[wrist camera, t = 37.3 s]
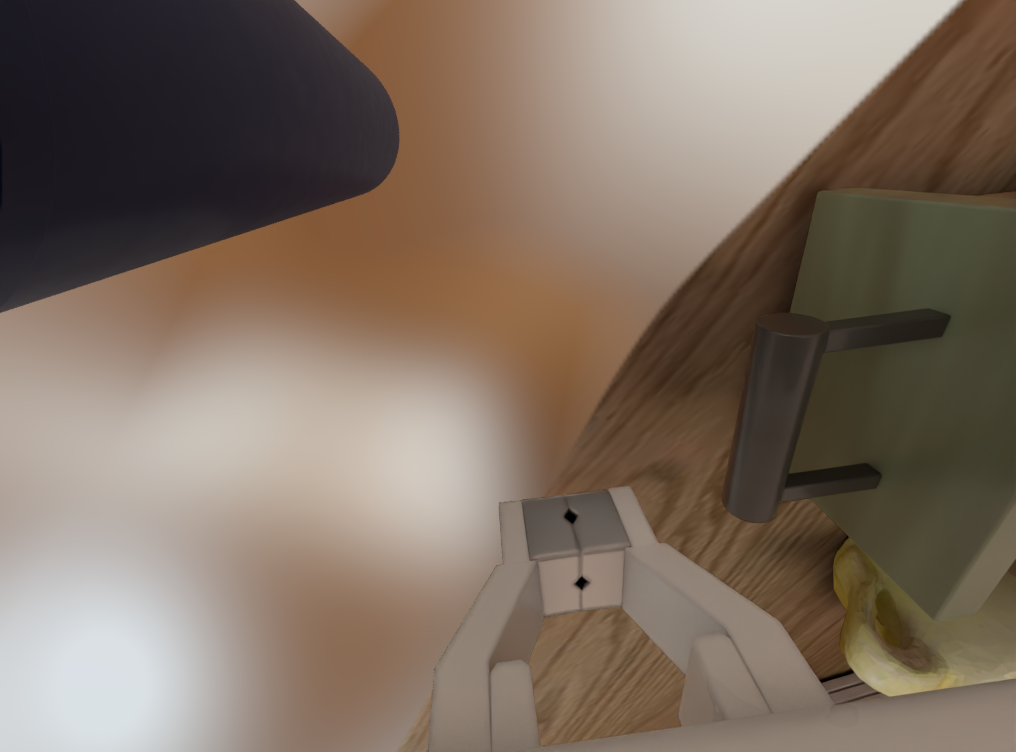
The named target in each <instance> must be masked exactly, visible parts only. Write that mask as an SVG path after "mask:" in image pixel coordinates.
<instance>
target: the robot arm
mask: <svg viewBox="0 0 1016 752" xmlns="http://www.w3.org/2000/svg"><path fill="white" fill-rule="evenodd" d="M499 518H500V532H501V545H502V559H503V565H497V566H496V567H495V568H494V570H493V572H492V573H491V575H490V577H489V578H488V580H487V582H486V583H485V585H484V587H483V589H482V590H481V592H480V593H479V595H478V597H477V598H476V600H475V602H474V604H473V605H472V607H471V609H470V610H469V612H468V614H467V615H466V617H465V619H464V620H463V622H462V624H461V625H460V627H459V629H458V630H457V632H456V634H455V635H454V637H453V639H452V640H451V642H450V644H449V646H448V647H447V649H446V650H445V652H444V654H443V655H442V657H441V659H440V660H439V662H438V664H437V665H436V667H435V669H434V680H433V692H432V705H431V717H430V729H429V741H428V752H1016V679H1009V680H1002V681H995V682H988V683H981V684H974V685H967V686H960V687H953V688H946V689H939V690H932V691H925V692H918V693H911V694H904V695H897V696H891V697H884V698H877V699H870V700H863V701H856V702H849V703H842V704H835V703H834V702H833V700H832V699H831V697H830V696H829V694H828V693H827V691H826V690H825V688H824V687H823V685H822V684H821V682H820V681H819V679H818V678H817V676H816V675H815V673H814V672H813V670H812V669H811V667H810V666H809V665H808V663H807V662H806V660H805V659H804V657H803V656H802V654H801V653H800V651H799V650H798V648H797V647H796V645H795V644H794V642H793V641H792V639H791V638H790V636H789V635H788V633H787V632H786V630H785V629H784V627H783V626H782V624H781V623H780V621H778V620H777V619H775V618H774V617H772V616H771V615H770V614H768V613H767V612H765V611H764V610H762V609H761V608H759V607H758V606H757V605H755V604H754V603H752V602H751V601H749V600H748V599H746V598H745V597H744V596H742V595H741V594H739V593H738V592H736V591H735V590H733V589H732V588H731V587H729V586H728V585H726V584H725V583H723V582H722V581H720V580H719V579H718V578H716V577H715V576H713V575H712V574H710V573H709V572H707V571H706V570H705V569H703V568H702V567H700V566H699V565H697V564H696V563H694V562H693V561H692V560H690V559H689V558H687V557H686V556H684V555H683V554H681V553H680V552H679V551H677V550H676V549H674V548H673V547H671V546H670V545H668V544H667V543H658V541H657V539H656V537H655V535H654V533H653V531H652V529H651V527H650V525H649V523H648V521H647V518H646V516H645V514H644V512H643V510H642V508H641V506H640V504H639V502H638V500H637V498H636V496H635V494H634V492H633V490H632V488H630V487H629V486H622V487H615V488H608V489H601V490H594V491H587V492H580V493H573V494H566V495H561V496H552V497H542V498H533V499H524V500H522V503H521V501H509V502H500V503H499ZM615 607H622V609H623V610H624V611H625V612H626V613H627V614H628V615H629V616H630V618H631V619H632V620H633V621H634V622H635V623H636V624H637V625H638V626H639V627H640V628H641V629H642V630H643V631H644V632H645V633H646V634H647V636H648V637H649V638H650V639H651V640H652V641H653V642H654V643H655V644H656V645H657V646H658V647H659V648H660V649H661V650H662V651H663V652H664V653H665V655H666V656H667V657H668V658H669V659H670V660H671V661H672V662H673V663H674V664H675V665H676V666H677V667H678V668H679V669H680V670H681V671H682V673H683V674H684V675H685V676H686V677H685V682H684V687H683V692H682V698H681V703H680V708H679V713H678V717H679V720H680V722H681V725H682V727H675V728H668V729H661V730H654V731H647V732H640V733H633V734H626V735H619V736H612V737H605V738H598V739H591V740H584V741H577V742H570V743H563V744H556V745H549V746H542V747H541V744H540V736H539V729H538V722H537V714H536V707H535V700H534V692H533V685H532V678H531V671H530V666H529V665H528V662H529V660H530V657H531V654H532V651H533V649H534V646H535V643H536V641H537V638H538V635H539V633H540V630H541V627H542V624H543V622H544V617H550V616H556V615H562V614H568V613H574V612H580V611H588V610H597V609H606V608H615Z"/></svg>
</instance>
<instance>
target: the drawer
mask: <svg viewBox="0 0 1016 752" xmlns="http://www.w3.org/2000/svg"><path fill="white" fill-rule="evenodd" d="M721 498H722V503H723V505H724V507H725V508H726V509H727V510H728V511H729V512H730V513H731V514H732V515H734V516H735V517H737V518H739V519H741V520H744V521H747V522H752V523H765V522H769V521H771V520H772V519H774V518H775V516H776V515H777V511H778V508H779V504H780V502H788V501H795V500H802V499H809V498H810V499H811V500H812V501H813V502H814V503H815V504H816V505H817V506H818V507H819V508H820V509H821V510H822V511H823V512H824V513H825V514H826V515H827V516H828V517H829V518H830V519H831V520H832V521H833V522H834V523H835V524H836V525H837V526H838V527H839V528H840V529H841V530H842V531H843V532H844V533H845V534H847V535H848V536H849V537H850V538H851V539H852V540H853V541H854V542H855V543H856V544H857V545H858V546H859V547H860V548H861V549H862V550H863V551H864V552H865V553H866V554H867V555H868V556H869V557H870V558H871V559H872V560H873V561H874V562H875V563H876V564H877V565H878V566H879V567H880V568H881V569H882V570H883V571H884V572H885V573H886V574H887V575H888V576H889V577H890V578H891V579H892V580H893V581H894V582H895V583H896V584H897V585H898V586H899V587H900V588H901V589H902V590H903V591H904V592H905V593H906V594H907V595H908V596H909V597H910V598H911V599H912V600H913V601H914V602H915V603H916V604H917V605H918V606H919V607H920V608H921V609H922V610H923V611H924V612H925V613H926V614H927V615H928V616H929V617H930V618H931V619H932V620H934V621H942V620H949V619H955V618H962V617H968V616H974V615H975V614H976V613H977V612H978V610H979V609H980V608H981V606H982V605H983V603H984V602H985V601H986V599H987V598H988V597H989V595H990V594H991V592H992V591H993V590H994V588H995V587H996V586H997V584H998V583H999V581H1000V580H1001V579H1002V577H1003V576H1004V574H1005V573H1006V572H1009V573H1010V574H1011V575H1013V576H1014V577H1015V578H1016V191H1012V192H1004V193H996V194H988V195H980V196H971V195H956V194H942V193H928V192H914V191H900V190H886V189H872V188H857V187H849V188H841V189H833V190H825V191H820V192H818V194H817V198H816V202H815V206H814V210H813V215H812V219H811V223H810V228H809V232H808V236H807V240H806V245H805V249H804V253H803V258H802V262H801V266H800V270H799V275H798V279H797V283H796V288H795V292H794V296H793V300H792V305H791V309H790V313H773V314H767V315H763V316H761V317H759V318H758V319H757V320H756V321H755V326H754V331H753V337H752V342H751V347H750V352H749V357H748V362H747V368H746V373H745V378H744V383H743V388H742V393H741V399H740V404H739V409H738V414H737V419H736V424H735V429H734V435H733V440H732V445H731V450H730V455H729V460H728V466H727V471H726V476H725V481H724V486H723V491H722V497H721Z"/></svg>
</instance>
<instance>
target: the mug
mask: <svg viewBox="0 0 1016 752" xmlns="http://www.w3.org/2000/svg"><path fill="white" fill-rule="evenodd" d="M833 578H834V590H835V592H836V594H837V596H838V598H839V599H840V601H841V603H842V604H843V606H844V608H845V609H846V611H847V612H846V616H845V620H844V623H843V627H842V630H841V633H840V649H841V650H842V652H843V654H844V656H845V659H846V661H847V663H848V665H849V666H850V667H851V669H852V670H853V671H854V672H855V674H856V675H857V676H858V677H859V678H860V679H861V680H863V681H864V682H865V683H866V684H868V685H869V686H870V687H872V688H873V689H875V690H877V691H879V692H881V693H883V694H885V695H887V696H889V697H891V696H897V695H904V694H911V693H918V692H925V691H932V690H939V689H946V688H953V687H960V686H967V685H974V684H981V683H988V682H995V681H1002V680H1009V679H1016V578H1015V577H1014V576H1013V575H1011V574H1010V573H1009V572H1006V573H1005V574H1004V576H1003V577H1002V579H1001V580H1000V581H999V583H998V584H997V586H996V587H995V588H994V590H993V591H992V592H991V594H990V595H989V597H988V598H987V599H986V601H985V602H984V603H983V605H982V606H981V608H980V609H979V610H978V612H977V613H976V614H975V615H974V616H968V617H962V618H955V619H949V620H942V621H934V620H932V619H931V618H930V617H929V616H928V615H927V614H926V613H925V612H924V611H923V610H922V609H921V608H920V607H919V606H918V605H917V604H916V603H915V602H914V601H913V600H912V599H911V598H910V597H909V596H908V595H907V594H906V593H905V592H904V591H903V590H902V589H901V588H900V587H899V586H898V585H897V584H896V583H895V582H894V581H893V580H892V579H891V578H890V577H889V576H888V575H887V574H886V573H885V572H884V571H883V570H882V569H881V568H880V567H879V566H878V565H877V564H876V563H875V562H874V561H873V560H872V559H871V558H870V557H869V556H868V555H867V554H866V553H865V552H864V551H863V550H862V549H861V548H860V547H859V546H858V545H857V544H856V543H855V542H854V541H853V540H852V539H851V538H850V537H849V538H848V539H847V540H846V541H845V542H844V544H843V545H842V546H841V548H840V549H839V550H838V551H837V553H836V555H835V558H834V564H833Z"/></svg>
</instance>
